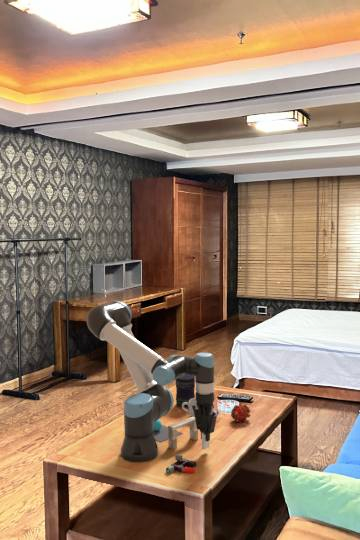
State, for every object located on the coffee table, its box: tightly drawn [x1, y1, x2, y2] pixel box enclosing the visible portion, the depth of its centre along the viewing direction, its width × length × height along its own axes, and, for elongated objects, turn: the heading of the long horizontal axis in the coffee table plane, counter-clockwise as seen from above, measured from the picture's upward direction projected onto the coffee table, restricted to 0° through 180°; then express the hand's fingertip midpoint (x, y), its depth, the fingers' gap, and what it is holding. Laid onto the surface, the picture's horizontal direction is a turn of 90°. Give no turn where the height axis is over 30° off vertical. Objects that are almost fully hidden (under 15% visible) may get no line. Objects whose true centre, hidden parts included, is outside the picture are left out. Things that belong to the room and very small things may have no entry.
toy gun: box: [165, 454, 197, 474], centre depth 204 cm, size 10×12×5 cm
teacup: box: [181, 397, 197, 417], centre depth 257 cm, size 14×11×8 cm
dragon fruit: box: [230, 403, 251, 423], centre depth 252 cm, size 8×8×12 cm
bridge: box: [167, 416, 199, 450], centre depth 228 cm, size 3×14×9 cm, turn 133°
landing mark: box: [153, 424, 183, 443], centre depth 239 cm, size 13×13×1 cm
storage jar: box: [175, 375, 196, 409], centre depth 274 cm, size 10×10×15 cm
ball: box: [153, 419, 163, 431], centre depth 241 cm, size 6×6×6 cm
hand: (205, 447), depth 219 cm, fingers closed
